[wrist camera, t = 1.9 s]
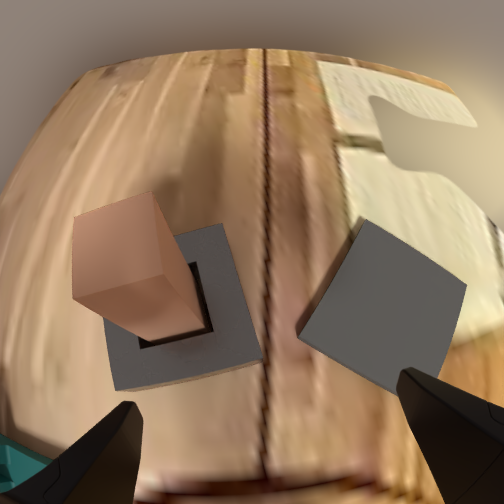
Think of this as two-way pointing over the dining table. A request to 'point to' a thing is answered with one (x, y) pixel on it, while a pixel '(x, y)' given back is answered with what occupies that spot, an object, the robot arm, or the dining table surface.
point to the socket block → (199, 347)
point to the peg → (136, 272)
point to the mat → (386, 310)
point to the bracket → (18, 463)
